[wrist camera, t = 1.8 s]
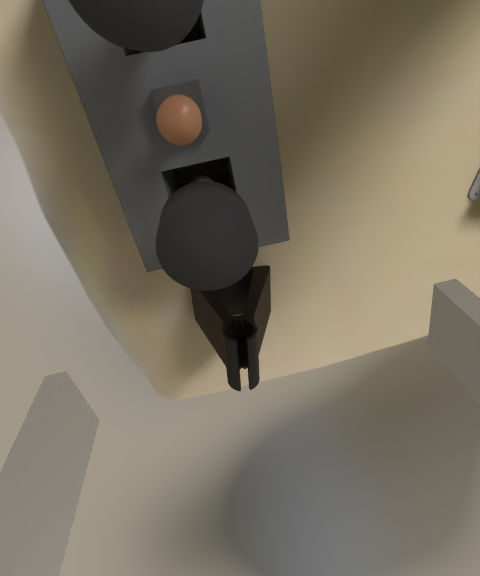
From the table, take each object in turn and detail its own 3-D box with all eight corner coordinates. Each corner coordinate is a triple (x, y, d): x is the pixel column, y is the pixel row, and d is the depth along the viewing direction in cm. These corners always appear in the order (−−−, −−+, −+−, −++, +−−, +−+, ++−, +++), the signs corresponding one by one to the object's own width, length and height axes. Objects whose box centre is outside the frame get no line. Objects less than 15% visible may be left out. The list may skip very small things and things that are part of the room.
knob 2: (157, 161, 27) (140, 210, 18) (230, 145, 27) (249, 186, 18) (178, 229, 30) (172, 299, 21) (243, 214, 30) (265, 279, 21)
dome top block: (152, 89, 23) (142, 96, 18) (198, 79, 23) (199, 83, 18) (166, 139, 24) (160, 156, 20) (209, 129, 24) (213, 144, 20)
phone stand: (269, 265, 40) (296, 334, 30) (270, 309, 43) (293, 384, 33) (188, 273, 39) (187, 346, 29) (194, 317, 43) (195, 397, 32)
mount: (54, -61, 24) (1, -107, 18) (226, -101, 24) (240, -162, 18) (155, 232, 36) (147, 271, 30) (271, 206, 36) (289, 240, 30)
